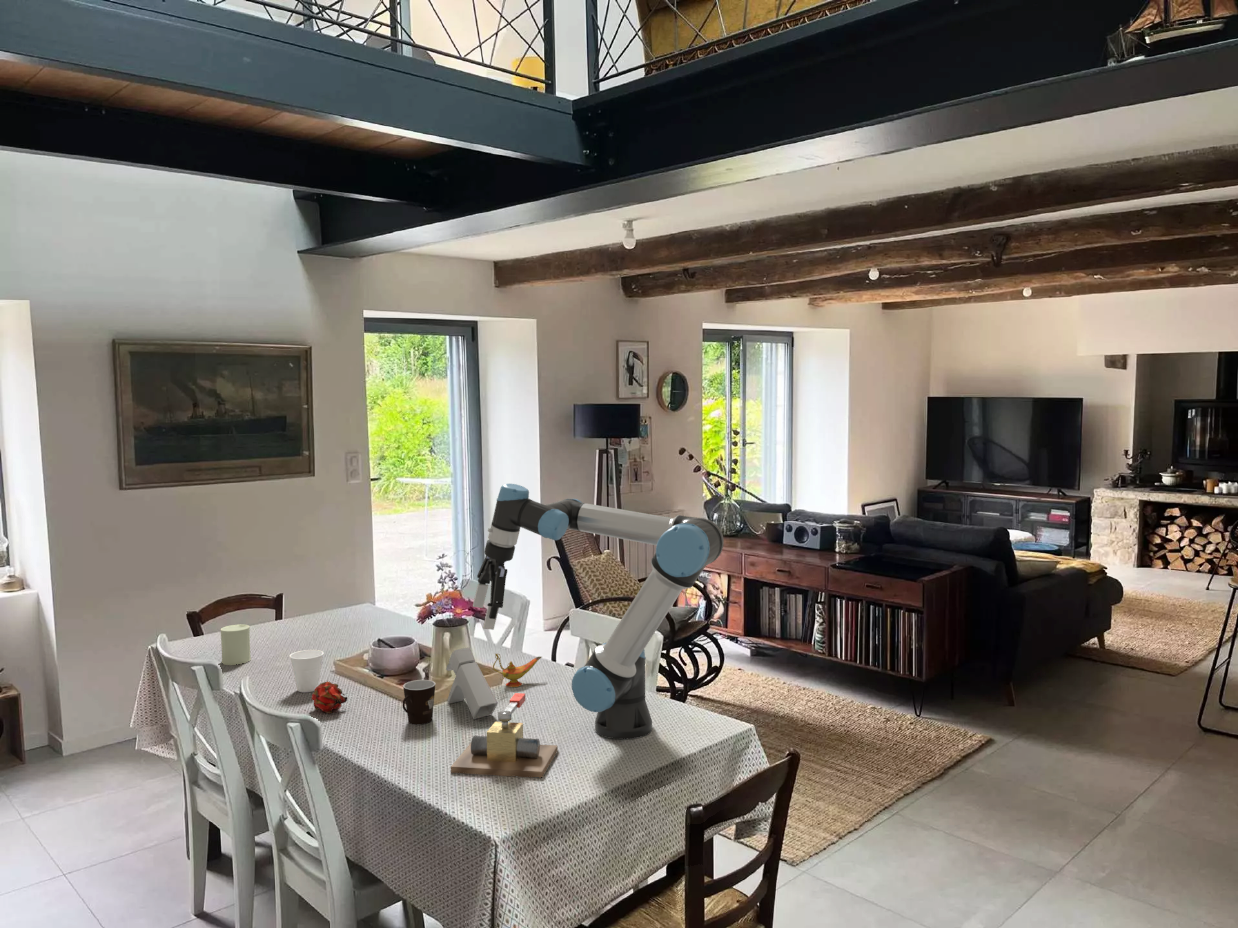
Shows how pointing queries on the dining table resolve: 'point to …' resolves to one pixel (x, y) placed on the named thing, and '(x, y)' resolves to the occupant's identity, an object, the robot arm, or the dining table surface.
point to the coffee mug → (419, 701)
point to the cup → (306, 669)
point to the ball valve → (505, 743)
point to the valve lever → (511, 707)
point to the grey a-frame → (470, 684)
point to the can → (235, 644)
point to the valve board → (505, 764)
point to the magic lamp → (515, 671)
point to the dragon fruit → (328, 697)
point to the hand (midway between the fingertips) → (482, 617)
